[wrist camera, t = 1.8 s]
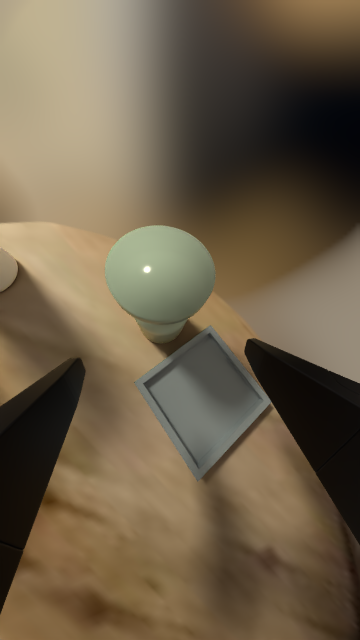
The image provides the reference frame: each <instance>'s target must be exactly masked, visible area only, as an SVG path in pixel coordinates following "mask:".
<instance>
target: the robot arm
mask: <svg viewBox="0 0 360 640" xmlns="http://www.w3.org/2000/svg"><path fill="white" fill-rule="evenodd" d="M244 352H245V355H246V357H247V359H248V361H249V363H250V365H251V367H252V370H253V372H254V374H255V376H256V377H257V379H258V381H259V382H260V384H261V386H262V387H263V389H264V391H265V392H266V394H267V395H268V397H269V399H270V400H271V402H272V403H273V405H274V407H275V408H276V410H277V412H278V413H279V415H280V416H281V418H282V420H283V421H284V423H285V425H286V426H287V428H288V429H289V431H290V433H291V434H292V436H293V437H294V439H295V441H296V442H297V444H298V446H299V447H300V449H301V450H302V452H303V454H304V455H305V457H306V458H307V460H308V462H309V463H310V465H311V467H312V468H313V470H314V471H315V472H316V475H317V477H318V478H319V480H320V481H321V483H322V485H323V486H324V488H325V489H326V491H327V493H328V494H329V496H330V498H331V499H332V501H333V502H334V504H335V506H336V507H337V509H338V510H339V512H340V514H341V515H342V517H343V519H344V520H345V522H346V523H347V525H348V527H349V528H350V530H351V531H352V533H353V535H354V536H355V538H356V540H357V541H358V543H359V544H360V383H357V382H355V381H352V380H350V379H348V378H345V377H343V376H340V375H338V374H336V373H334V372H331V371H328V370H327V369H324V368H322V367H320V366H317V365H315V364H313V363H310V362H308V361H306V360H304V359H301V358H299V357H297V356H294V355H292V354H290V353H287V352H285V351H283V350H280V349H278V348H276V347H273V346H271V345H269V344H267V343H264V342H262V341H260V340H258V339H255V338H253V339H248V340H247V342H246V346H245V350H244ZM84 377H85V367H84V365H83V362H82V360H81V358H79V357H76V358H70V359H68V360H67V361H65V362H64V363H63V364H61V365H60V366H58V367H57V368H55V369H54V370H52V371H51V372H50V373H48V374H47V375H45V376H44V377H42V378H41V379H39V380H38V381H37V382H35V383H34V384H32V385H31V386H29V387H28V388H26V389H25V390H24V391H22V392H21V393H19V394H18V395H16V396H15V397H13V398H12V399H11V400H9V401H8V402H6V403H5V404H3V405H2V406H0V614H1V611H2V608H3V605H4V603H5V600H6V597H7V595H8V592H9V589H10V586H11V584H12V581H13V578H14V576H15V573H16V570H17V568H18V565H19V562H20V559H21V557H22V554H23V549H24V548H25V545H26V543H27V540H28V537H29V535H30V532H31V529H32V526H33V524H34V521H35V518H36V516H37V513H38V510H39V507H40V505H41V502H42V499H43V497H44V494H45V491H46V489H47V486H48V483H49V480H50V478H51V475H52V472H53V470H54V467H55V464H56V461H57V459H58V456H59V453H60V451H61V448H62V445H63V443H64V440H65V437H66V434H67V432H68V429H69V426H70V424H71V421H72V418H73V415H74V413H75V410H76V407H77V404H78V401H79V397H80V393H81V389H82V385H83V381H84Z"/></svg>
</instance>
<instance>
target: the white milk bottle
mask: <svg viewBox="0 0 360 640" xmlns="http://www.w3.org/2000/svg"><path fill="white" fill-rule="evenodd" d="M17 273H18V265H17V262H16V260H15V259H14V257H13V256H12V255H10V254H9V253H8V252H7V251H5V250H4V249H3V248H1V247H0V292H1V291H3V290H5V289H6V288H8V287H9V286H10V285H11V284H12V283H13V281H14V280H15V278H16V276H17Z"/></svg>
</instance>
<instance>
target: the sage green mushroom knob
mask: <svg viewBox="0 0 360 640" xmlns="http://www.w3.org/2000/svg"><path fill="white" fill-rule="evenodd" d="M105 278H106V282H107V285H108V287H109V290H110V292H111V293H112V295H113V297H114V298H115V300H116V301H117V303H118V304H119V305H120V306H121V308H122V309H123V310H125V311H126V312H127V313H128V314H129V315H131V316H132V317H134V318H135V320H136V322H137V324H138V325H139V327H140V329H141V331H142V333H143V335H144V336H145V337H146V338H147V339H149V340H150V341H152V342H155V343H160V344H161V343H168V342H171V341H172V340H174V339H175V338H177V336H178V335H179V334H180V332H181V330H182V329H183V327H184V325H185V323H186V321H187V319H188V318H190V317H191V316H193V315H194V314H195V313H197V312H198V311H199V310H200V309H201V308H202V306H203V305H204V303H205V302H206V300H207V299H208V297H209V296H210V294H211V292H212V290H213V287H214V283H215V268H214V263H213V260H212V258H211V256H210V254H209V252H208V250H207V249H206V248H205V247H204V245H203V244H202V243H200V241H198V240H197V239H196V238H195V237H193V236H192V235H190V234H188V233H187V232H184V231H182V230H180V229H176V228H173V227H168V226H148V227H143V228H139V229H136V230H133V231H131V232H129V233H127V234H126V235H124V236H123V237H122V238H121V239H119V240H118V241H117V242H116V243H115V245H114V246H113V247H112V249H111V250H110V252H109V254H108V257H107V260H106V264H105Z"/></svg>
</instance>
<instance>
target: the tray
mask: <svg viewBox="0 0 360 640" xmlns="http://www.w3.org/2000/svg"><path fill="white" fill-rule="evenodd" d="M134 383H135V385H136V386H137V388H138V389H139V391H140V392H141V394H142V396H143V397H144V399H145V400H146V402H147V403H148V405H149V406H150V408H151V410H152V411H153V413H154V414H155V416H156V417H157V419H158V420H159V422H160V424H161V425H162V427H163V428H164V430H165V431H166V433H167V435H168V436H169V438H170V439H171V441H172V442H173V444H174V445H175V447H176V449H177V450H178V452H179V453H180V455H181V456H182V458H183V460H184V461H185V463H186V464H187V466H188V467H189V469H190V470H191V472H192V474H193V475H194V477H195V478H196V480H197V481H199V480H200V479H201V478H202V477H203V476H204V475H205V473H206V472H207V471H208V470H209V469H210V468H211V467H212V466H213V465H214V464H215V463H216V462H217V460H218V459H219V458H220V457H221V456H222V455H223V454H224V453H225V452H226V451H227V450H228V449H229V447H230V446H231V445H232V444H233V443H234V442H235V441H236V440H237V439H238V438H239V437H240V436H241V434H242V433H243V432H244V431H245V430H246V429H247V428H248V427H249V426H250V425H251V424H252V423H253V421H254V420H255V419H256V418H257V417H258V416H259V415H260V414H261V413H262V412H263V411H264V410H265V408H266V407H267V406H268V405H269V404H270V403H271V400H270V399H269V397H268V396H267V395H266V394H265V392H264V391H263V390H262V389H261V387H260V386H259V385H258V384H257V382H256V381H255V380H254V379H253V377H252V376H251V375H250V374H249V372H248V371H247V370H246V369H245V367H244V366H243V365H242V364H241V362H240V361H239V360H238V359H237V357H236V356H235V355H234V354H233V352H232V351H231V350H230V349H229V347H228V346H227V345H226V344H225V342H224V341H223V340H222V339H221V337H220V336H219V335H218V334H217V332H216V331H215V330H214V329H213V327H212V326H211V325H210V326H209V327H207V328H206V329H205V330H203V331H202V332H201V333H199V334H198V335H197V336H195V337H194V338H193V339H191V340H190V341H189V342H187V343H186V344H185V345H183V346H182V347H181V348H179V349H178V350H177V351H175V352H174V353H173V354H171V355H170V356H169V357H167V358H166V359H165V360H163V361H162V362H161V363H159V364H158V365H157V366H155V367H154V368H153V369H151V370H150V371H149V372H147V373H146V374H145V375H143V376H142V377H141V378H139V379H138V380H137V381H135V382H134Z"/></svg>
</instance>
